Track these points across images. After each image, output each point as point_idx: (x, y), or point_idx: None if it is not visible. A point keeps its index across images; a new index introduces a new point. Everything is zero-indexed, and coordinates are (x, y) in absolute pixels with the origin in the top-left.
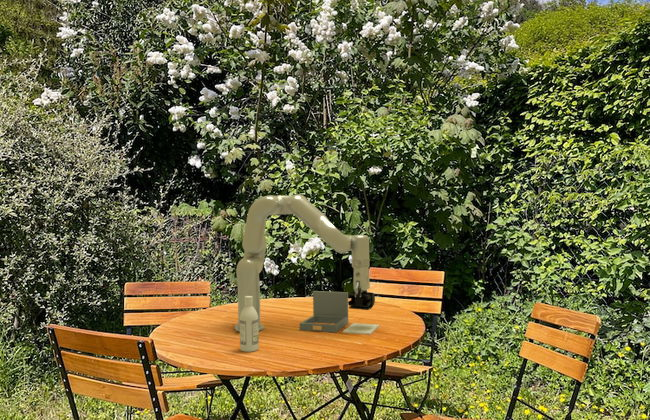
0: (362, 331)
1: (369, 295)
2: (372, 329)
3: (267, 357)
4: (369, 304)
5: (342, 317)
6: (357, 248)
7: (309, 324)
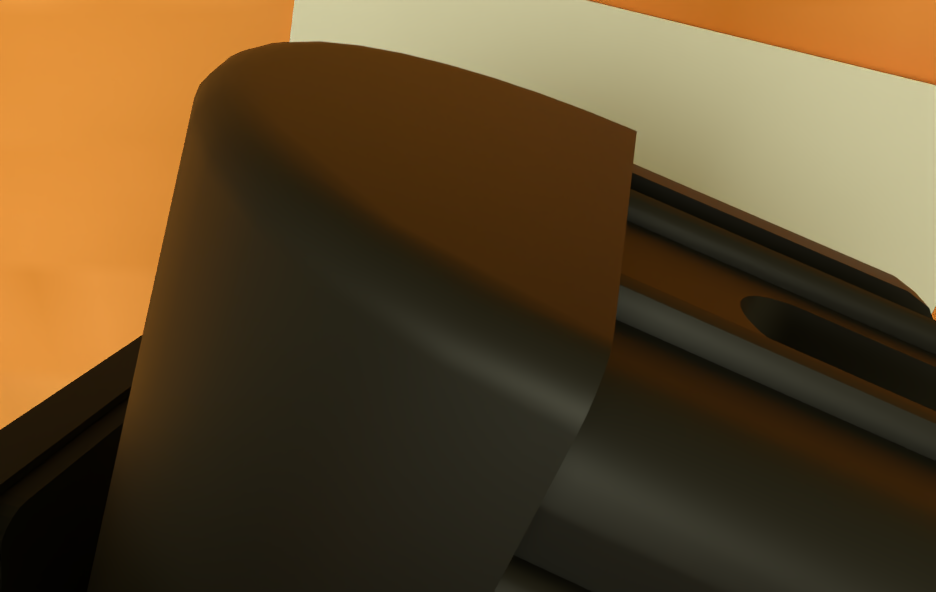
0: (864, 262)
1: (900, 533)
2: (711, 70)
3: None
4: (834, 292)
5: None
6: None
7: None
